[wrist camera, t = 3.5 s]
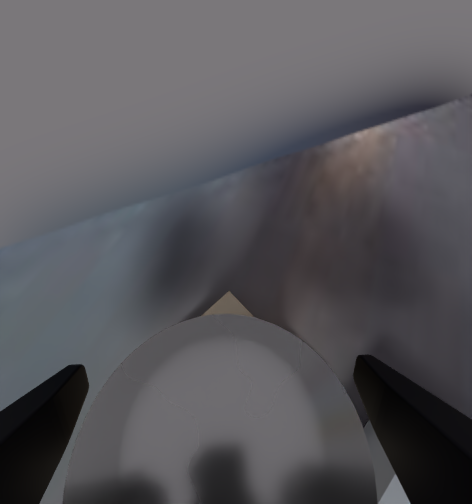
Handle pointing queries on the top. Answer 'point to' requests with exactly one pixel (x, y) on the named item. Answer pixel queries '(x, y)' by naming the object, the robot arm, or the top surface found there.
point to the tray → (384, 472)
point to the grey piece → (222, 423)
